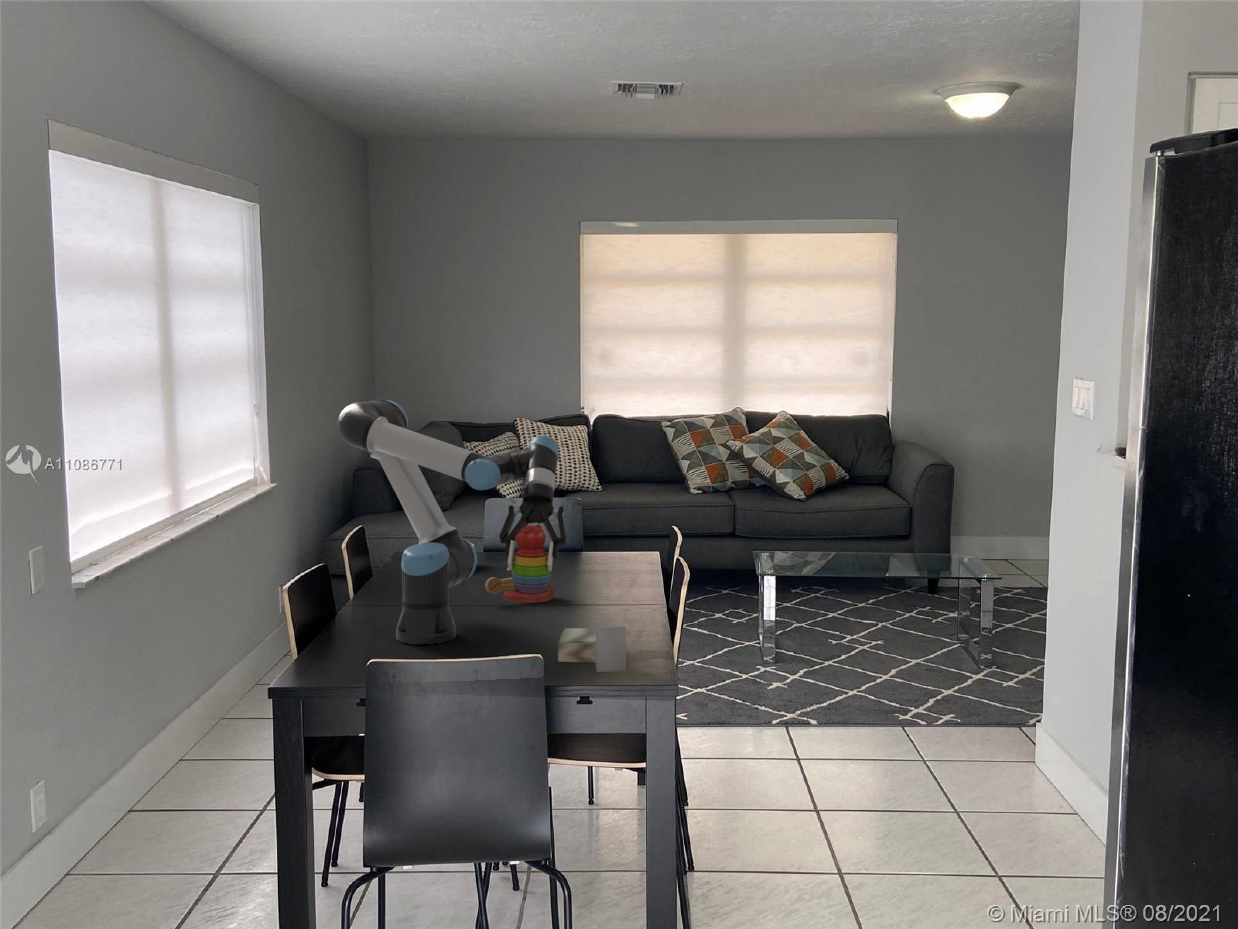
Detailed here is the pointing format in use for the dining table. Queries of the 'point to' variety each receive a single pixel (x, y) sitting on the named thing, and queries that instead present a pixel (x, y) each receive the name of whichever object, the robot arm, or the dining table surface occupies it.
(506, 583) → the toy helicopter
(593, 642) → the base block
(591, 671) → the dining table surface
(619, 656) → the white printed cardboard box
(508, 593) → the stacking bear
